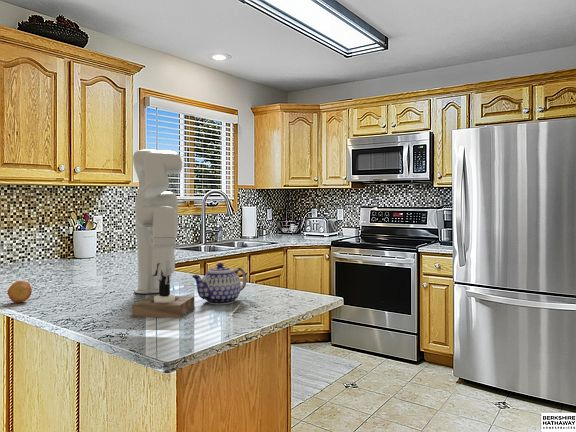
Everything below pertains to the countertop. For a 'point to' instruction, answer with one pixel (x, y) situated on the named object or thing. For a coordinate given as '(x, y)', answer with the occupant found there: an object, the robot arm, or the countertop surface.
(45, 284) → the countertop surface
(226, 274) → the teapot
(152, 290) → the robot arm
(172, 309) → the housing
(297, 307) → the countertop surface
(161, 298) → the button
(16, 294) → the fruit
